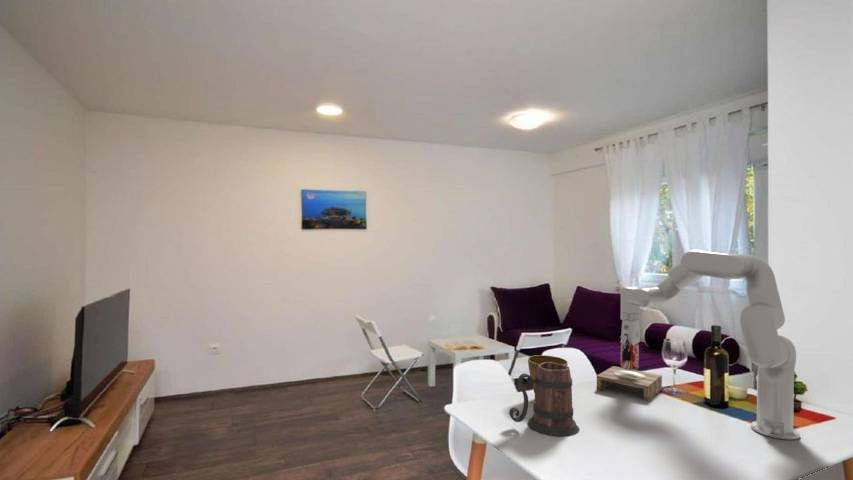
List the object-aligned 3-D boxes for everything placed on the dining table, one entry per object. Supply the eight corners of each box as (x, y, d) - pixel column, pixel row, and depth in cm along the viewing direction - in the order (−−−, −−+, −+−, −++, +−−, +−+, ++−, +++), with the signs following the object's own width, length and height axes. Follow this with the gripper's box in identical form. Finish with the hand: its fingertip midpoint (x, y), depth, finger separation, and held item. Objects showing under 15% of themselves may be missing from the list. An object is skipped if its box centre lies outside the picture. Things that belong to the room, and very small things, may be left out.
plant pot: (524, 404, 170) (524, 362, 170) (530, 392, 183) (531, 353, 183) (565, 411, 164) (566, 367, 164) (568, 398, 178) (569, 357, 178)
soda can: (631, 371, 184) (631, 342, 184) (616, 367, 191) (616, 339, 191) (642, 369, 188) (642, 341, 188) (628, 365, 194) (628, 337, 194)
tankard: (564, 415, 160) (565, 358, 160) (589, 435, 143) (590, 372, 144) (501, 418, 156) (502, 360, 156) (519, 439, 139) (520, 375, 140)
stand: (648, 401, 175) (648, 385, 175) (596, 390, 188) (596, 374, 188) (661, 389, 190) (661, 374, 190) (613, 379, 203) (613, 365, 203)
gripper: (633, 320, 180) (632, 364, 180) (645, 315, 193) (645, 356, 193) (613, 317, 185) (613, 361, 185) (627, 313, 198) (626, 353, 198)
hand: (629, 358), depth 189 cm, fingers closed on soda can, 7 cm apart
